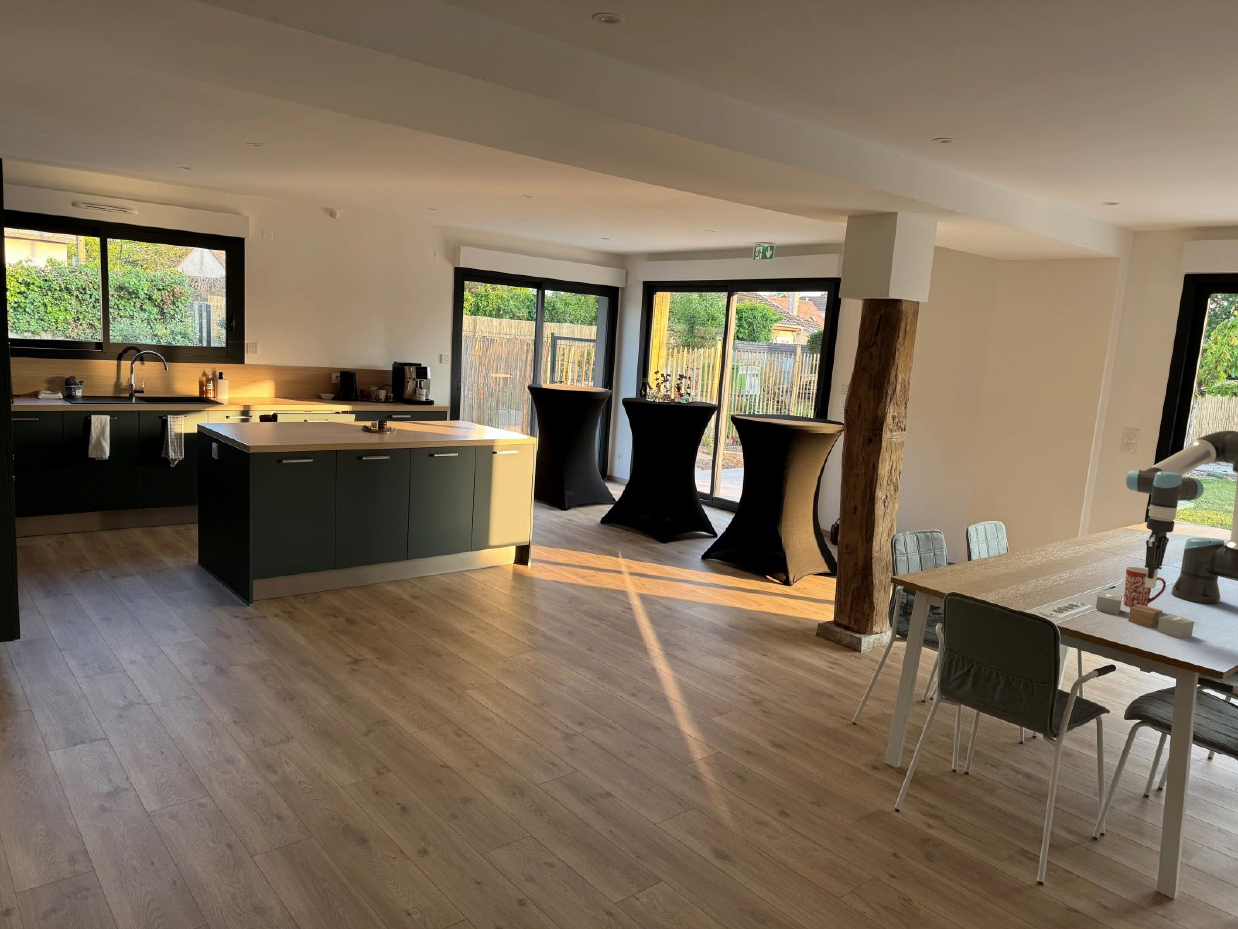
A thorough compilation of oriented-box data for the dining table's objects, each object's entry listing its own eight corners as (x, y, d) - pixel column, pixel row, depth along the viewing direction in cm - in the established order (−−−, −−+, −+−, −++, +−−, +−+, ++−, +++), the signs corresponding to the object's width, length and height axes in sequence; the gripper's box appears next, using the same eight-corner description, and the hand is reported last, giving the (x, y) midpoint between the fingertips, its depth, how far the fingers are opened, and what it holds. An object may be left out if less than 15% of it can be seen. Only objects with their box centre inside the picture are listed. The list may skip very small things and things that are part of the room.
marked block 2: (1168, 629, 273) (1171, 614, 273) (1191, 636, 267) (1194, 620, 267) (1157, 631, 270) (1159, 616, 269) (1180, 639, 264) (1182, 623, 263)
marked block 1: (1097, 605, 296) (1099, 591, 295) (1120, 610, 292) (1122, 595, 291) (1095, 610, 290) (1097, 595, 289) (1118, 614, 286) (1120, 600, 285)
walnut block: (1137, 618, 283) (1139, 604, 282) (1160, 624, 278) (1162, 610, 277) (1128, 621, 279) (1130, 607, 278) (1150, 628, 273) (1153, 613, 273)
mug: (1119, 606, 296) (1125, 569, 294) (1121, 600, 303) (1126, 564, 301) (1161, 614, 289) (1167, 577, 287) (1161, 608, 296) (1167, 572, 294)
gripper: (1156, 514, 280) (1145, 582, 283) (1140, 517, 272) (1129, 587, 275) (1181, 519, 274) (1169, 588, 277) (1166, 522, 266) (1154, 593, 269)
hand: (1149, 587), depth 276 cm, fingers closed
